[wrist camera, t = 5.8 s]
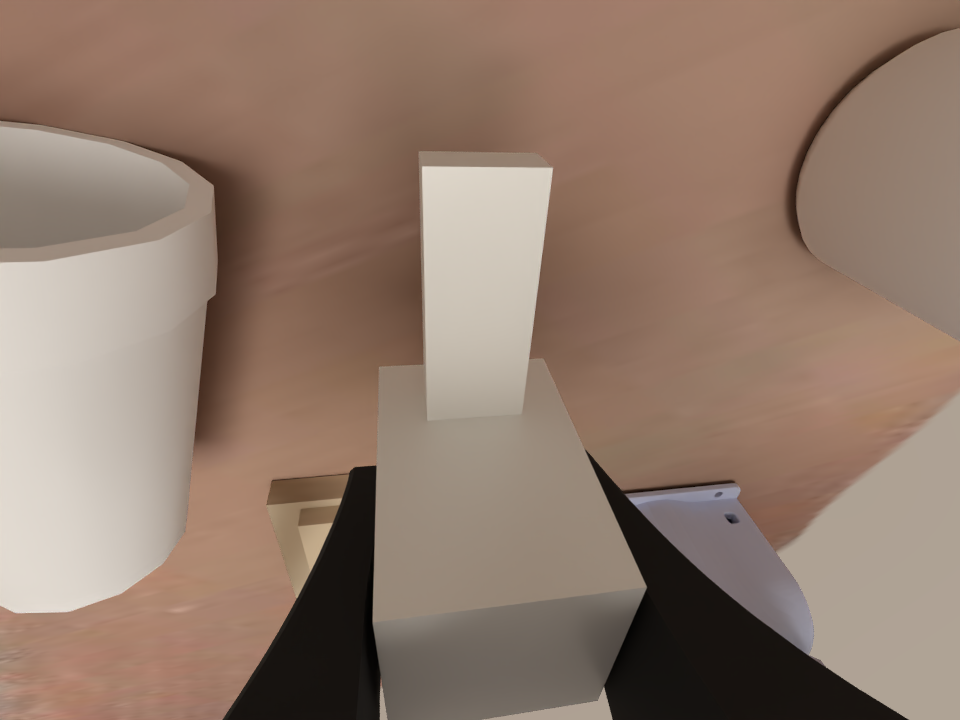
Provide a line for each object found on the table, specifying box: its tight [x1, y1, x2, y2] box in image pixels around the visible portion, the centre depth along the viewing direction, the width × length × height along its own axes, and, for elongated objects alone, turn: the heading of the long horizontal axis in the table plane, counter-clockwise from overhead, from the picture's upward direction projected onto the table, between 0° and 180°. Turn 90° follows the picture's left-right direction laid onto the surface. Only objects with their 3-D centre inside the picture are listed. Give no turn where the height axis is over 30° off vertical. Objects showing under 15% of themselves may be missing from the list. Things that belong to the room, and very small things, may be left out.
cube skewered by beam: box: [373, 151, 647, 720], centre depth 11 cm, size 4×14×6 cm, turn 177°
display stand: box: [266, 474, 349, 599], centre depth 29 cm, size 13×17×2 cm
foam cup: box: [0, 121, 218, 613], centre depth 15 cm, size 10×9×13 cm
